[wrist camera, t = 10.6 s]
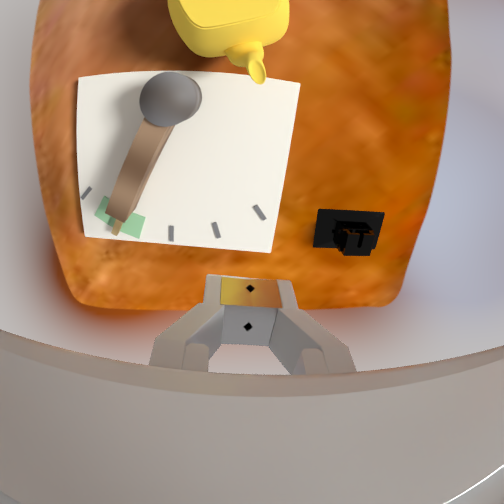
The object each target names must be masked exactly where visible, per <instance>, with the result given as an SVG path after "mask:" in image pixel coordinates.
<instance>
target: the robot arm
mask: <svg viewBox="0 0 504 504" xmlns="http://www.w3.org/2000/svg"><path fill="white" fill-rule="evenodd" d="M221 344H245V345H259V346H269V348H270V349H271V351H272V352H273V353H274V355H275V356H276V357H277V358H278V360H279V361H280V362H281V363H282V365H283V366H284V367H285V368H286V369H287V371H288V372H289V373H290V374H291V375H251V374H229V373H213V372H208V361H209V359H210V358H211V357H212V356H213V354H214V353H215V352H216V351H217V349H218V348H219V347H220V346H221ZM0 504H504V345H503V346H500V347H497V348H492V349H489V350H485V351H481V352H477V353H473V354H469V355H464V356H460V357H455V358H450V359H445V360H440V361H435V362H429V363H423V364H417V365H411V366H404V367H397V368H389V369H380V370H371V371H361V372H357V371H356V368H355V365H354V362H353V360H352V357H351V354H350V351H349V348H348V347H347V346H346V345H345V344H344V343H342V342H341V341H340V340H339V339H338V338H336V337H335V336H334V335H333V334H331V333H330V332H329V331H328V330H327V329H325V328H324V327H323V326H322V325H321V324H319V323H318V322H317V321H316V320H314V319H313V318H312V317H311V316H310V315H308V314H307V313H306V312H305V311H304V310H302V309H298V305H297V302H296V298H295V294H294V291H293V287H292V283H291V281H290V280H267V279H251V278H243V277H233V276H224V275H222V278H221V275H212V274H207V276H206V284H205V291H204V299H203V303H198V304H197V305H196V306H195V307H193V308H192V309H191V310H190V311H188V312H187V313H186V314H185V315H183V316H182V317H181V318H180V319H178V320H177V321H176V322H175V323H173V324H172V325H171V326H170V327H169V328H167V329H166V330H165V331H164V332H162V333H161V334H160V335H159V336H157V337H156V338H155V342H154V346H153V349H152V353H151V358H150V362H149V365H142V364H135V363H129V362H123V361H117V360H112V359H107V358H102V357H97V356H93V355H88V354H83V353H79V352H74V351H71V350H66V349H63V348H59V347H55V346H51V345H48V344H44V343H41V342H37V341H34V340H31V339H27V338H24V337H21V336H18V335H15V334H12V333H9V332H6V331H3V330H0Z"/></svg>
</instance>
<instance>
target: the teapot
mask: <svg viewBox="0 0 504 504" xmlns="http://www.w3.org/2000/svg"><path fill="white" fill-rule="evenodd" d="M167 1H168V8H169V12H170V16H171V19H172V22H173V25H174V27H175V29H176V31H177V32H178V34H179V36H180V37H181V38H182V40H183V41H184V43H185V44H186V45H187V46H188V47H189V49H190V50H192V51H193V52H194V53H195V54H197V55H199V56H203V57H218V56H225V55H226V56H227V57H228V59H229V60H230V62H231V63H233V64H234V65H236V66H238V67H246V69H247V71H248V74H249V75H250V77H251V79H252V80H253V81H254V82H255V83H256V84H259V85H261V84H263V83H264V82H265V80H266V71H265V67H264V64H263V62H262V59H263V57H264V51H263V47H264V46H266V45H269V44H272V43H275V42H276V41H278V40H280V39H281V38H282V37H283V35H284V34H285V32H286V30H287V27H288V24H289V0H167Z"/></svg>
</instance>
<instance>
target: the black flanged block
mask: <svg viewBox="0 0 504 504" xmlns="http://www.w3.org/2000/svg"><path fill="white" fill-rule="evenodd" d="M384 215H385V213H384V212H369V211H353V210H333V209H318V214H317V221H316V228H315V235H314V242H313V247H316V248H337V249H338V251H339V252H342V254H343V255H344V256H370V253H371V250H372V249H375V247H376V244H377V240H378V237H379V233H380V230H381V226H382V222H383V219H384Z"/></svg>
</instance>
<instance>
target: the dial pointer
mask: <svg viewBox="0 0 504 504" xmlns="http://www.w3.org/2000/svg"><path fill="white" fill-rule="evenodd" d="M201 102H202V92H201V89H200V87H199V85H198V84H197V82H196V81H195V80H193V79H192V78H190V77H188V76H185V75H182V74H180V73H176V72H163V73H160V74H157V75H155V76H154V77H152V78H151V79H149V80H148V81H147V83H146V84H145V85H144V87H143V89H142V91H141V94H140V98H139V104H140V109H141V112H142V114H143V115H144V119H143V121H142V123H141V125H140V127H139V129H138V132H137V134H136V136H135V138H134V140H133V142H132V145H131V147H130V149H129V151H128V154H127V156H126V158H125V161H124V163H123V166H122V168H121V171H120V173H119V176H118V178H117V181H116V183H115V186H114V189H113V191H112V194H111V197H110V200H109V202H108V205H107V208H106V211H105V214H107V215H109V216H111V217H113V218H115V219H116V220H115V223H114V226H113V229H112V232H111V234H113V235H115V236H117V235H118V234H119V232H120V230H121V227H122V224H123V223H125V222H126V220H127V219H128V218H129V216H130V215H131V214H132V212H133V211H134V210H135V209H136V207H137V204H138V202H139V200H140V197H141V195H142V193H143V190H144V188H145V186H146V184H147V181H148V179H149V177H150V175H151V173H152V171H153V168H154V166H155V164H156V162H157V160H158V158H159V156H160V154H161V152H162V150H163V148H164V146H165V144H166V142H167V140H168V138H169V136H170V134H171V132H172V131H173V129H174V127H175V125H177V124H179V123H181V122H183V121H185V120H187V119H189V118H191V117H192V116H193V115H194V114H195V113H196V112H197V111H198V109H199V107H200V105H201Z"/></svg>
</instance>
